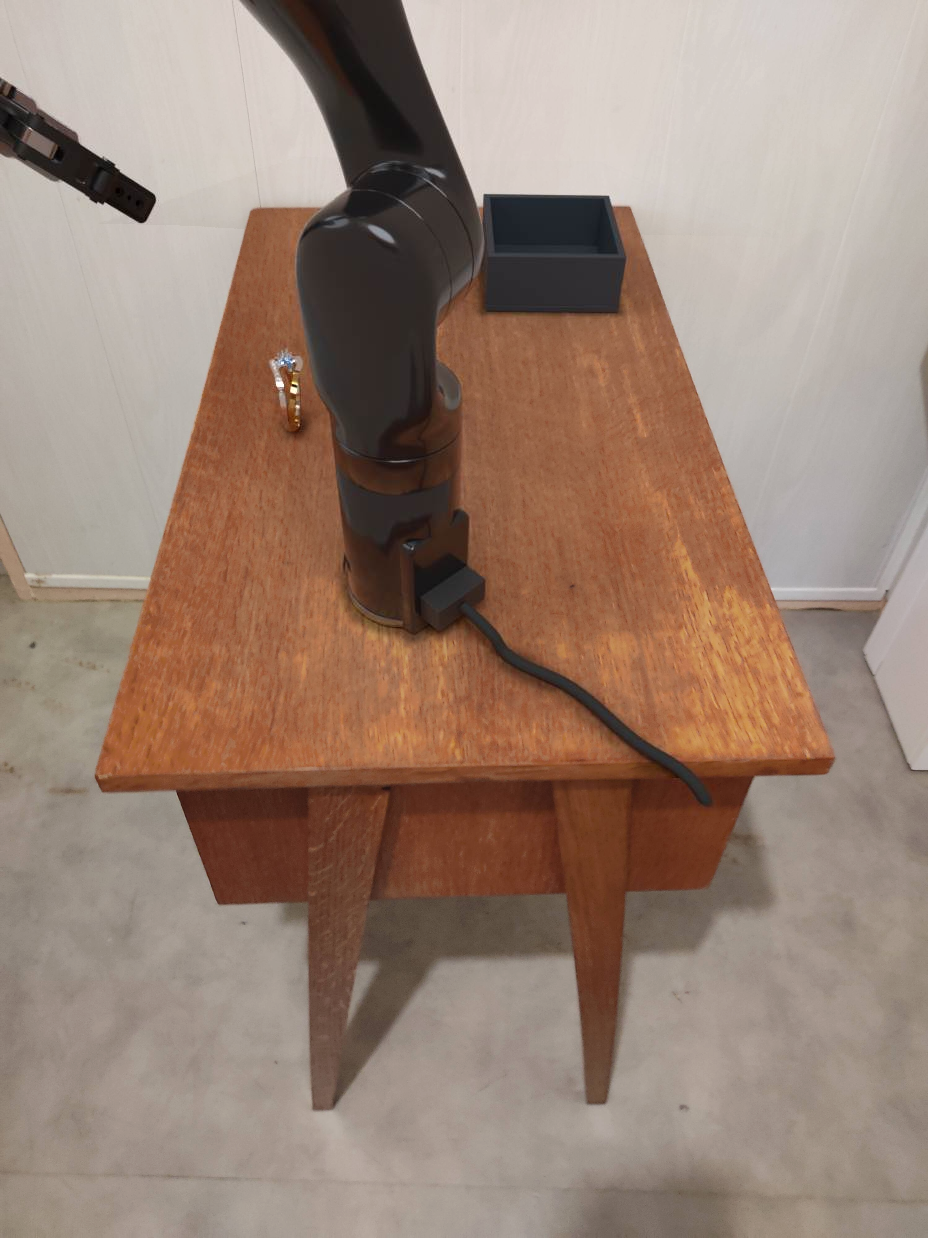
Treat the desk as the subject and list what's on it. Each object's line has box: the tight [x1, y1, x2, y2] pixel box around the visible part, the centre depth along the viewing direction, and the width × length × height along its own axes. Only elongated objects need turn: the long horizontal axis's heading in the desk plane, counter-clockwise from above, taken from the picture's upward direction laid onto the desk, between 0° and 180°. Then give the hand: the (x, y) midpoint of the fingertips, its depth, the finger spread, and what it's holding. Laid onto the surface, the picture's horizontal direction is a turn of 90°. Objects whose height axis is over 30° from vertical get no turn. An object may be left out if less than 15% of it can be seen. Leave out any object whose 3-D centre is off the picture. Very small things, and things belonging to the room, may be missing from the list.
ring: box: [268, 347, 304, 432], centre depth 85 cm, size 7×3×8 cm, turn 179°
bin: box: [481, 193, 627, 314], centre depth 106 cm, size 16×16×7 cm
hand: (118, 188), depth 63 cm, fingers open, 8 cm apart
